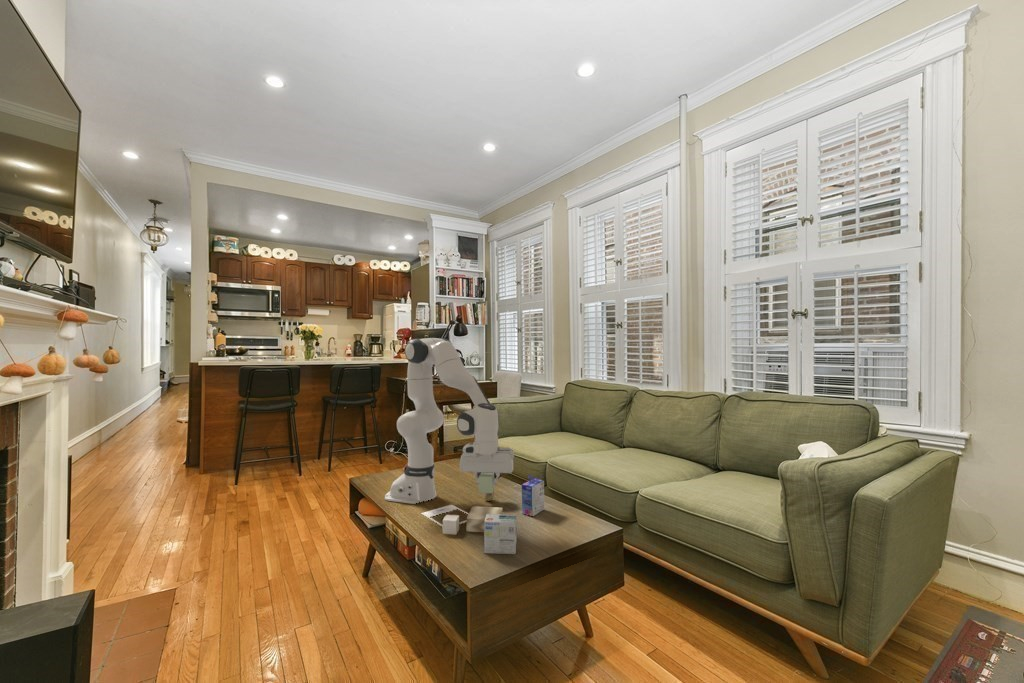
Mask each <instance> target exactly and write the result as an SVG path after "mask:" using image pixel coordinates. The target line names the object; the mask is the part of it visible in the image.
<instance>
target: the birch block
mask: <svg viewBox="0 0 1024 683" xmlns="http://www.w3.org/2000/svg"><path fill="white" fill-rule="evenodd" d="M503 511H504V509H503V507H495V506H479V505H478V506H475V505H474V506H473V505H472V507H471V508H470V511H469V512H468V513H469V515H467V517H466V520H467V522H466V529H465V530H466V532H473V533H484V521H485V517H486V514H504V513H503Z"/></svg>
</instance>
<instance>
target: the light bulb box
mask: <svg viewBox="0 0 1024 683" xmlns="http://www.w3.org/2000/svg"><path fill="white" fill-rule="evenodd" d="M517 530H518V529H517V514H516V513H515V514H511V513H510V514H507V513H506V514H504V513H503V514H486V517H485V521H484V532H483V533H484V534H483V541H484V543H483V549H484V550H483V553H484V554H498V555H499V554H501V555H502V554H503V555H505V554H506V555H516V553H517Z"/></svg>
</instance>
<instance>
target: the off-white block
mask: <svg viewBox="0 0 1024 683" xmlns="http://www.w3.org/2000/svg"><path fill="white" fill-rule="evenodd" d="M459 522H460V515H458V514H445V516H444V517H443V519H442V525H443V527H442V535H443V534H444V535H457V533H459V530H460V525H459Z"/></svg>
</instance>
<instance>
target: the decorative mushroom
mask: <svg viewBox="0 0 1024 683" xmlns="http://www.w3.org/2000/svg"><path fill="white" fill-rule="evenodd" d="M481 473H486V472H478V473H477V476H478V478H479V476H480V474H481ZM496 477H497V476H496V473H494V479H496ZM501 477H502V473H500V476H499V477H498V479H500V478H501ZM498 479H497V480H498ZM494 490H495V489H494ZM494 490H493V492H492V493H483V498H484V500H485V501H486V502H491V501H493V499H494V493H495V491H494Z"/></svg>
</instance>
